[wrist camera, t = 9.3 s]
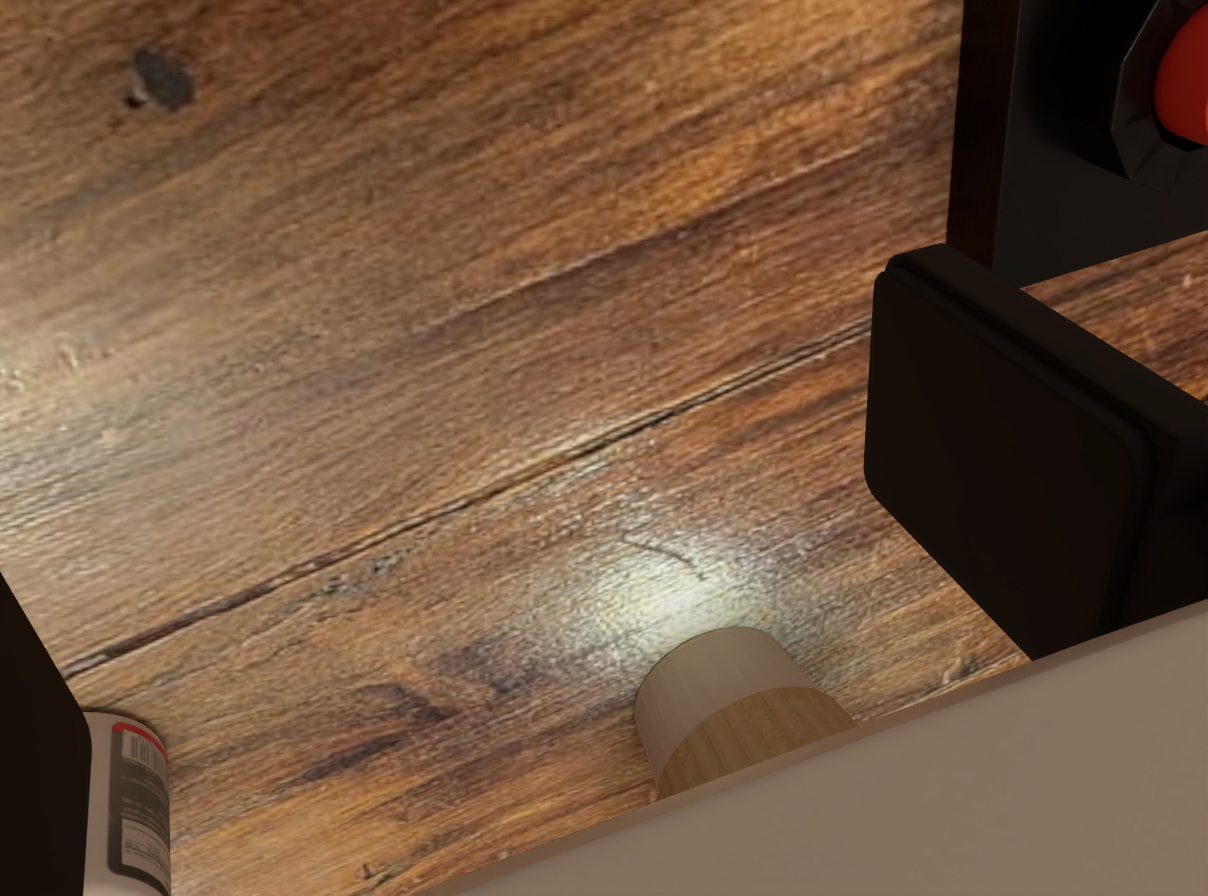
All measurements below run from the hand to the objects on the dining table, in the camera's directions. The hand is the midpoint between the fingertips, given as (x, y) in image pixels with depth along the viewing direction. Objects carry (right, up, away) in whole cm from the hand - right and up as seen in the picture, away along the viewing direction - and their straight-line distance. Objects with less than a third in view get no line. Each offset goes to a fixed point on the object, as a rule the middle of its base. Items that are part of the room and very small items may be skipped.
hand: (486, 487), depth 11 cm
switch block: (+16, +12, +19) cm, 27 cm away
